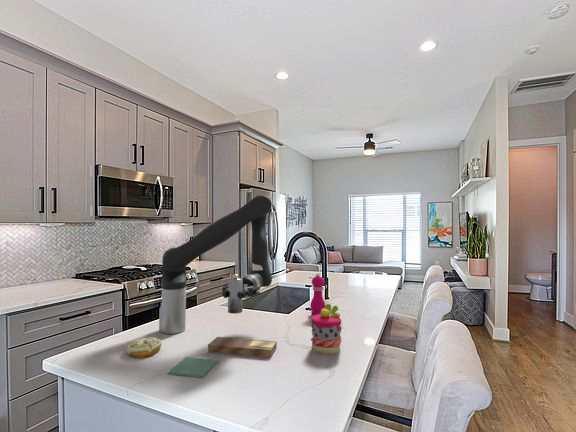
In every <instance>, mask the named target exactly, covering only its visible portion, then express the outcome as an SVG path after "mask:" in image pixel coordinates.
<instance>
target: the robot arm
mask: <svg viewBox="0 0 576 432" xmlns="http://www.w3.org/2000/svg"><path fill="white" fill-rule="evenodd" d="M271 209H272V200H271V199H270V198H269V196H267V195H264V194H263V195H262V194H259V195H256V196H254V197H253V198H252V199H251V200H249V201H248V202H247V203H245V204H244V205H242V206H241V207H239V208H238V209H237V210H234V211H232V212H231V213H228V214H227V215H224V216H222V217H221V218H219V219H217V220H216V221H214V222H213V223H210V224H209V225H208V226H206V227H204V229H202V230H201V231H199V233H198V234H196V235H195V236H194V237H193V238H192V239H190V240H188V241H187V242H185V243H183V244H181V245H179V246H177V247H170V248H168V249H167V250H166V251H165V252H164V253H163V254H162V259H161V261H162V262H161V263H162V265H161V268H162V270H161V273H162V274H161V306H160V307H159V317H158V319H159V321H158V323H159V325H158V332H159V333H163V334H167V335H170V334H171V335H173V334H178V333H183V332H184V331H185V330H186V317H187V316H186V315H187V314H186V313H187V312H186V311H187V307H186V306H187V275H186V274H187V273H186V272H187V266H188V265H189V264H191V262H193V261H195V260H196V259H197V258H198V257H200V256H202V255H203V254H206V253H207V252H209V251H211V250H213V249H215V248H216V247H218V246H219V245H221V244H223V243H224V242H227V240H229V239H230V238H232V237H233V236H234V235H237V234H238V232H239V231H240V230H241V229H243V228H244V227H245V226H247V225H248V224H249V223H250V224H251V263H252V264H253V265H257V266H260V267H261V268H262V269H259V270H258V269H257V270H255V269H254V270H253V269H252V270H249V272H248V273H247V274H246V275H244V276H242V277H241V278H243V290H242V291H241V292H240V293H239V299H242V300H243V299H247V298H253V297H255V296H257V295H260V294H261V288H267V287H269V286H271V284H272V282H273V276H272V273H271V269H270V265H269V259H268V258H269V254H268V252H269V249H268V247H269V246H268V239H267V233H266V232H267V231H266V225H267V224H266V223H267V215H268V214H269V213H270V211H271ZM221 296H222V297H223V299H228V284H224V285H223V286H222V288H221Z"/></svg>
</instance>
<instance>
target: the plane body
mask: <svg viewBox="0 0 576 432" xmlns="http://www.w3.org/2000/svg"><path fill="white" fill-rule="evenodd" d="M277 344H278V343H277V341H276V340H263V339H252V338H251V339H250V338H238V337H237V338H236V337H227V336H226V337H225V336H216V337H215V338H214V339H213V340H211V341H210V342H209V343H208V344H207V353H213V354H223V355H224V354H226V355H235V356H236V355H237V356H247V357H258V358H270V359H271V358H273V355H274V353H275V352H276V351H277V347H278V346H277Z"/></svg>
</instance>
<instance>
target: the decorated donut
mask: <svg viewBox="0 0 576 432" xmlns="http://www.w3.org/2000/svg"><path fill="white" fill-rule="evenodd" d="M161 347H162V340H161V339H160V338H157V337H151V336H150V337H140V338H136V339H134V340H132V341H130V342H129V344H128V345H127V348H126V352H127V354H129V355H130V356H132V357H134V358H139V359H141V358H147V357H150V356H152V355H155V354H156V353H158V352H159V351H160V350H161Z"/></svg>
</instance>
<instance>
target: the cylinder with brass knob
mask: <svg viewBox="0 0 576 432" xmlns="http://www.w3.org/2000/svg"><path fill="white" fill-rule="evenodd" d="M227 280H228V281H227V283H228V284H227V286H228V297H227V313H229V314H234V315H235V314H241V313H242V312H243V298H242V299H239V293H240V292H241V291H242V290H243V278H242V277H239V275H238V274H237V273H234V274H233V275H232V277H229V278H228V279H227Z"/></svg>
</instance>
